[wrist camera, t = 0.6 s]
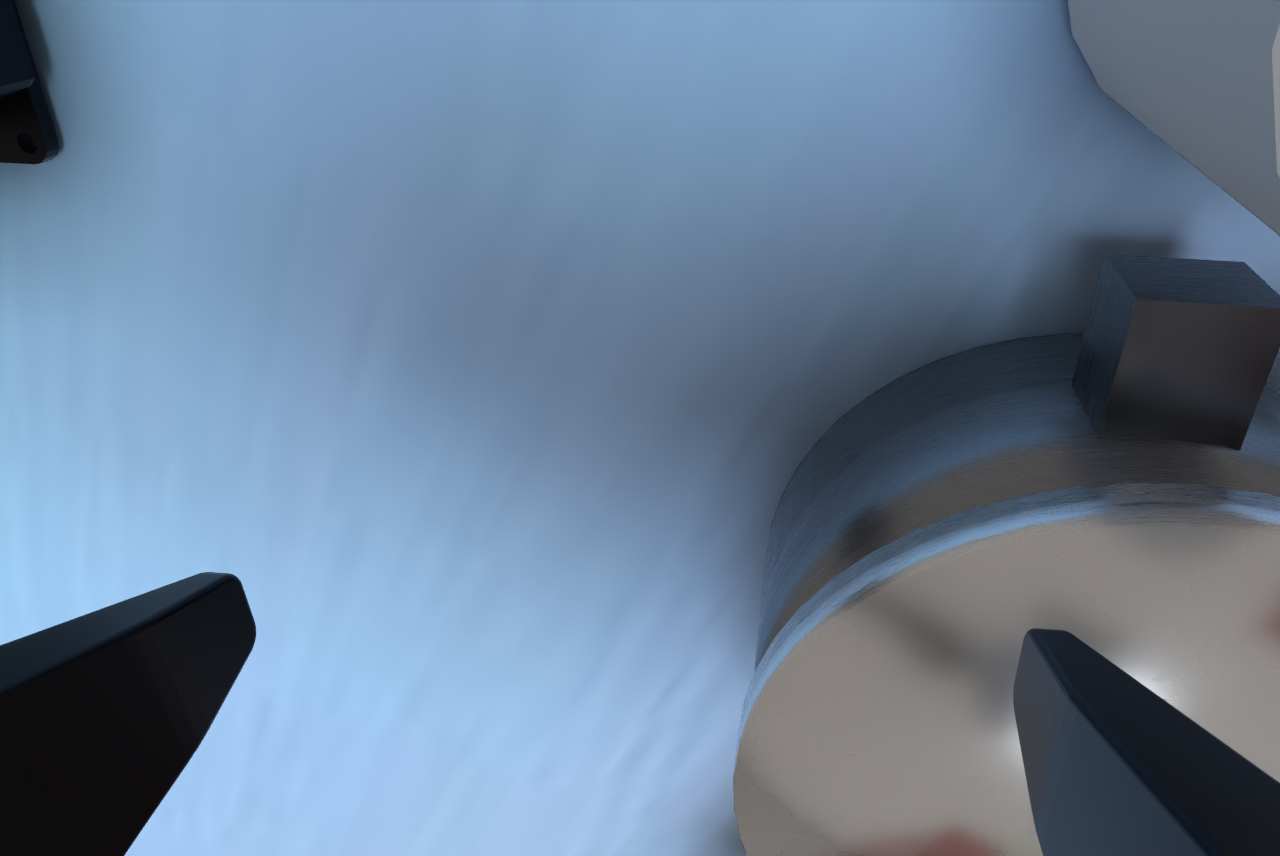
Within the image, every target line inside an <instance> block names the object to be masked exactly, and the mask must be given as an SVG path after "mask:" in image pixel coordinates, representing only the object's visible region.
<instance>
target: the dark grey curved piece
mask: <svg viewBox="0 0 1280 856" xmlns="http://www.w3.org/2000/svg"><path fill="white" fill-rule="evenodd" d="M1279 347H1280V296H1279V295H1278V294H1277V293H1276V292H1275V291H1274V290H1273V289H1272V288H1271V287H1270V286H1269V285H1268V284H1267V283H1266V282H1265V281H1263V280H1262V279H1261V278H1260V277H1259V276H1258V275H1257V274H1256V273H1255V272H1254V271H1253V270H1252V269H1251V268H1250V267H1249V266H1248V265H1247V264H1246V263H1244V262H1232V261H1214V260H1196V259H1179V258H1161V257H1144V256H1126V255H1109V254H1105V257H1104V260H1103V264H1102V268H1101V272H1100V276H1099V280H1098V283H1097V287H1096V291H1095V295H1094V299H1093V302H1092V306H1091V310H1090V314H1089V318H1088V322H1087V325H1086V329H1085V333H1084V334H1060V335H1050V336H1040V337H1030V338H1020V339H1015V340H1010V341H1005V342H1001V343H996V344H991V345H986V346H982V347H977V348H974V349H971V350H968V351H965V352H962V353H959V354H956V355H953V356H949V357H946V358H943V359H940V360H937V361H935V362H933V363H931V364H928V365H926V366H924V367H922V368H920V369H918V370H915V371H913V372H911V373H909V374H907V375H904V376H902V377H900V378H898V379H897V380H895V381H893V382H892V383H890V384H889V385H887V386H885V387H884V388H882V389H880V390H879V391H877V392H875V393H874V394H872V395H870V396H869V397H867V398H866V399H865V400H863V401H862V402H861V403H860V404H858V405H857V406H856V407H854V408H853V409H852V410H851V411H849V412H848V413H847V414H846V415H844V416H843V417H842V418H841V419H839V420H838V421H837V422H836V423H835V424H834V425H833V426H832V427H831V428H830V429H829V430H828V431H827V432H826V433H825V435H824V436H823V437H822V438H821V439H820V440H819V441H818V442H817V443H816V444H815V445H814V446H813V447H812V449H811V450H810V452H809V453H808V454H807V456H806V457H805V458H804V460H803V461H802V462H801V464H800V465H799V467H798V468H797V469H796V471H795V472H794V474H793V476H792V478H791V480H790V482H789V484H788V486H787V488H786V489H785V491H784V493H783V495H782V497H781V500H780V502H779V505H778V508H777V511H776V514H775V517H774V520H773V523H772V527H771V533H770V538H769V544H768V550H767V559H766V568H765V578H764V587H763V597H762V606H761V616H760V625H759V635H758V644H757V654H756V663H755V670H756V668H757V667H758V665H759V663H760V662H761V660H762V658H763V656H764V655H765V653H766V651H767V650H768V648H769V646H770V644H771V643H772V641H773V639H774V638H775V637H776V636H777V634H778V633H779V632H780V631H781V629H782V628H783V627H784V626H785V625H786V623H787V622H788V621H789V620H790V619H791V617H792V616H793V615H794V614H795V613H796V611H797V610H798V609H799V608H800V607H801V606H802V605H803V604H804V603H806V602H807V601H808V600H809V599H810V598H811V597H812V596H813V595H814V594H816V593H817V592H818V591H819V590H820V589H821V588H822V587H823V586H824V585H826V584H827V583H828V582H829V581H830V580H831V579H833V578H834V577H836V576H837V575H839V574H840V573H842V572H843V571H844V570H846V569H847V568H849V567H850V566H852V565H853V564H855V563H856V562H858V561H859V560H861V559H862V558H863V557H865V556H866V555H868V554H869V553H871V552H873V551H875V550H877V549H879V548H881V547H883V546H885V545H887V544H889V543H891V542H893V541H894V540H896V539H898V538H900V537H902V536H904V535H906V534H908V533H910V532H912V531H914V530H916V529H919V528H921V527H924V526H927V525H929V524H932V523H934V522H937V521H940V520H942V519H945V518H948V517H950V516H953V515H955V514H958V513H961V512H963V511H966V510H970V509H974V508H977V507H981V506H985V505H989V504H992V503H996V502H1000V501H1004V500H1007V499H1011V498H1015V497H1019V496H1023V495H1029V494H1036V493H1042V492H1048V491H1054V490H1060V489H1067V488H1073V487H1079V486H1092V485H1109V484H1126V483H1143V482H1145V483H1169V484H1194V485H1210V486H1217V487H1224V488H1231V489H1237V490H1244V491H1251V492H1258V493H1265V494H1270V495H1274V496H1278V497H1280V396H1279V395H1278V394H1277V393H1276V392H1274V391H1273V390H1272V389H1270V388H1269V387H1268V386H1267V385H1265V384H1266V381H1267V378H1268V376H1269V373H1270V371H1271V368H1272V365H1273V363H1274V360H1275V357H1276V355H1277V352H1278V350H1279Z"/></svg>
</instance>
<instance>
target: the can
mask: <svg viewBox="0 0 1280 856" xmlns="http://www.w3.org/2000/svg"><path fill="white" fill-rule="evenodd" d="M1068 8H1069V15H1070V23H1071V31H1072V35H1073V37H1074V39H1075V41H1076V43H1077V45H1078V47H1079V49H1080V51H1081V52H1082V54H1083V56H1084V58H1085V60H1086V62H1087V64H1088V66H1089V68H1090V69H1091V71H1092V73H1093V75H1094V77H1095V79H1096V81H1097V83H1098V85H1099V86H1100V88H1101V90H1103V91H1104V92H1105V93H1106V94H1107V95H1109V96H1110V97H1111V98H1112V99H1113V100H1114V101H1116V102H1117V103H1118V104H1119V105H1120V106H1122V107H1123V108H1124V109H1125V110H1126V111H1128V112H1129V113H1130V114H1131V115H1132V116H1133V117H1135V118H1136V119H1137V120H1138V121H1139V122H1141V123H1142V124H1143V125H1144V126H1145V127H1146V128H1148V129H1149V130H1150V131H1151V132H1153V133H1154V134H1155V135H1156V136H1158V137H1159V138H1160V139H1161V140H1162V141H1164V142H1165V143H1166V144H1167V145H1169V146H1170V147H1171V148H1172V149H1174V150H1175V151H1176V152H1177V153H1178V154H1180V155H1181V156H1182V157H1183V158H1185V159H1186V160H1187V161H1188V162H1189V163H1191V164H1192V165H1193V166H1194V167H1196V168H1197V169H1198V170H1199V171H1201V172H1202V173H1203V174H1204V175H1205V176H1207V177H1208V178H1209V179H1210V180H1212V181H1213V182H1214V183H1215V184H1217V185H1218V186H1219V187H1220V188H1221V189H1223V190H1224V191H1225V192H1226V193H1228V194H1229V195H1230V196H1231V197H1233V198H1234V199H1235V200H1236V201H1237V202H1239V203H1240V204H1241V205H1242V206H1244V207H1245V208H1246V209H1247V210H1249V211H1250V212H1251V213H1252V214H1253V215H1255V216H1256V217H1257V218H1258V219H1260V220H1261V221H1262V222H1263V223H1264V224H1266V225H1267V226H1268V227H1269V228H1271V229H1272V230H1273V231H1274V232H1276V233H1277V234H1278V235H1279V236H1280V0H1068Z"/></svg>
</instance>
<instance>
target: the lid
mask: <svg viewBox="0 0 1280 856" xmlns="http://www.w3.org/2000/svg"><path fill="white" fill-rule="evenodd" d="M1032 628H1039V629H1054V630H1065V631H1067V632H1070V633H1071V634H1073V635H1074V636H1076V637H1077V638H1079V639H1080V640H1081V641H1083V642H1084V643H1086V644H1087V645H1088V646H1090V647H1091V648H1093V649H1094V650H1095V651H1097V652H1098V653H1100V654H1101V655H1102V656H1104V657H1105V658H1107V659H1108V660H1109V661H1111V662H1112V663H1114V664H1115V665H1116V666H1118V667H1119V668H1120V669H1122V670H1123V671H1125V672H1126V673H1127V674H1129V675H1130V676H1132V677H1133V678H1134V679H1136V680H1137V681H1139V682H1140V683H1141V684H1143V685H1144V686H1146V687H1147V688H1148V689H1150V690H1151V691H1153V692H1154V693H1155V694H1157V695H1158V696H1160V697H1161V698H1162V699H1164V700H1165V701H1167V702H1168V703H1169V704H1171V705H1172V706H1174V707H1175V708H1176V709H1178V710H1179V711H1181V712H1182V713H1183V714H1185V715H1186V716H1187V717H1189V718H1190V719H1192V720H1193V721H1194V722H1196V723H1197V724H1199V725H1200V726H1201V727H1203V728H1204V729H1206V730H1207V731H1208V732H1210V733H1211V734H1213V735H1214V736H1215V737H1217V738H1218V739H1220V740H1221V741H1222V742H1224V743H1225V744H1227V745H1228V746H1229V747H1231V748H1232V749H1234V750H1235V751H1236V752H1238V753H1239V754H1241V755H1242V756H1243V757H1245V758H1246V759H1248V760H1249V761H1250V762H1252V763H1253V764H1254V765H1256V766H1257V767H1259V768H1260V769H1261V770H1263V771H1264V772H1266V773H1267V774H1268V775H1270V776H1271V777H1273V778H1274V779H1275V780H1277V781H1278V782H1280V497H1278V496H1274V495H1270V494H1265V493H1258V492H1251V491H1244V490H1237V489H1231V488H1224V487H1217V486H1210V485H1194V484H1169V483H1145V482H1143V483H1126V484H1109V485H1092V486H1079V487H1073V488H1067V489H1060V490H1054V491H1048V492H1042V493H1036V494H1029V495H1023V496H1019V497H1015V498H1011V499H1007V500H1004V501H1000V502H996V503H992V504H989V505H985V506H981V507H977V508H974V509H970V510H966V511H963V512H961V513H958V514H955V515H953V516H950V517H948V518H945V519H942V520H940V521H937V522H934V523H932V524H929V525H927V526H924V527H921V528H919V529H916V530H914V531H912V532H910V533H908V534H906V535H904V536H902V537H900V538H898V539H896V540H894V541H893V542H891V543H889V544H887V545H885V546H883V547H881V548H879V549H877V550H875V551H873V552H871V553H869V554H868V555H866V556H865V557H863V558H862V559H861V560H859V561H858V562H856V563H855V564H853V565H852V566H850V567H849V568H847V569H846V570H844V571H843V572H842V573H840V574H839V575H837V576H836V577H834V578H833V579H831V580H830V581H829V582H828V583H827V584H826V585H824V586H823V587H822V588H821V589H820V590H819V591H818V592H817V593H816V594H814V595H813V596H812V597H811V598H810V599H809V600H808V601H807V602H806V603H804V604H803V605H802V606H801V607H800V608H799V609H798V610H797V611H796V613H795V614H794V615H793V616H792V617H791V619H790V620H789V621H788V622H787V623H786V625H785V626H784V627H783V628H782V629H781V631H780V632H779V633H778V634H777V636H776V637H775V638H774V639H773V641H772V643H771V644H770V646H769V648H768V650H767V651H766V653H765V655H764V656H763V658H762V660H761V662H760V663H759V665H758V667H757V668H756V670H755V673H754V676H753V678H752V681H751V684H750V686H749V689H748V692H747V695H746V697H745V700H744V704H743V710H742V716H741V722H740V728H739V734H738V743H737V751H736V760H735V769H734V777H733V784H734V811H735V815H736V820H737V825H738V829H739V834H740V838H741V841H742V844H743V846H744V848H745V851H746V853H747V856H1043V853H1042V850H1041V847H1040V843H1039V840H1038V836H1037V833H1036V829H1035V824H1034V819H1033V814H1032V809H1031V804H1030V798H1029V793H1028V787H1027V781H1026V776H1025V770H1024V764H1023V759H1022V753H1021V747H1020V742H1019V736H1018V730H1017V725H1016V719H1015V713H1014V705H1013V689H1014V681H1015V677H1016V672H1017V667H1018V663H1019V658H1020V653H1021V648H1022V644H1023V639H1024V636H1025V634H1026V632H1027V631H1028V630H1030V629H1032Z"/></svg>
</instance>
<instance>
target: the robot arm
mask: <svg viewBox="0 0 1280 856" xmlns="http://www.w3.org/2000/svg"><path fill="white" fill-rule="evenodd" d="M30 135H31V136H32V137H33V138H34V139H35V141H36V143H37V147H36V146H35V145H33V143H32V141H31V140H30ZM58 149H59V145H58V139H57V136H56V133H55V130H54V126H53V123H52V120H51V117H50V114H49V110H48V107H47V104H46V101H45V98H44V94H43V91H42V88H41V85H40V82H39V78H38V75H37V72H36V69H35V66H34V62H33V59H32V56H31V53H30V50H29V47H28V43H27V40H26V37H25V34H24V31H23V27H22V24H21V21H20V18H19V15H18V11H17V8H16V5H15V2H14V0H0V162H2V163H22V164H38V163H42V162H45V161H48V160H50V159H53V158H54V157H55V156H56V155H57V153H58ZM255 638H256V626H255V621H254V619H253V616H252V613H251V610H250V607H249V604H248V601H247V598H246V595H245V592H244V589H243V586H242V583H241V581H240V580H239V579H238V578H237V577H236V576H235V575H233V574H228V573H213V572H205V573H199V574H197V575H194V576H191V577H188V578H186V579H183V580H180V581H177V582H174V583H172V584H169V585H166V586H163V587H161V588H158V589H155V590H152V591H150V592H147V593H144V594H141V595H139V596H136V597H133V598H130V599H128V600H125V601H122V602H119V603H116V604H114V605H111V606H108V607H105V608H103V609H100V610H97V611H94V612H92V613H89V614H86V615H83V616H81V617H78V618H75V619H72V620H69V621H67V622H64V623H61V624H58V625H56V626H53V627H50V628H47V629H45V630H42V631H39V632H36V633H34V634H31V635H28V636H25V637H23V638H20V639H17V640H14V641H11V642H9V643H6V644H3V645H0V856H124V855H125V854H126V852H127V851H128V849H129V848H130V846H131V845H132V843H133V842H134V841H135V839H136V838H137V836H138V835H139V833H140V832H141V830H142V829H143V827H144V826H145V825H146V823H147V822H148V820H149V819H150V817H151V816H152V814H153V813H154V812H155V810H156V809H157V807H158V806H159V804H160V803H161V801H162V800H163V798H164V797H165V796H166V794H167V793H168V791H169V790H170V788H171V787H172V785H173V784H174V782H175V781H176V780H177V778H178V777H179V775H180V774H181V772H182V771H183V769H184V768H185V766H186V765H187V764H188V762H189V761H190V759H191V758H192V756H193V754H194V753H195V751H196V750H197V748H198V747H199V745H200V743H201V742H202V740H203V738H204V737H205V735H206V733H207V731H208V730H209V728H210V726H211V724H212V723H213V721H214V719H215V717H216V715H217V713H218V711H219V710H220V708H221V706H222V704H223V702H224V700H225V699H226V697H227V695H228V693H229V691H230V689H231V688H232V686H233V684H234V682H235V680H236V678H237V677H238V675H239V673H240V671H241V669H242V667H243V666H244V664H245V662H246V660H247V658H248V656H249V654H250V653H251V651H252V648H253V646H254V643H255ZM1013 705H1014V713H1015V719H1016V725H1017V730H1018V736H1019V742H1020V747H1021V753H1022V759H1023V764H1024V770H1025V776H1026V781H1027V787H1028V793H1029V798H1030V804H1031V809H1032V814H1033V819H1034V824H1035V829H1036V833H1037V836H1038V840H1039V843H1040V847H1041V850H1042V853H1043V856H1280V782H1278V781H1277V780H1275V779H1274V778H1273V777H1271V776H1270V775H1268V774H1267V773H1266V772H1264V771H1263V770H1261V769H1260V768H1259V767H1257V766H1256V765H1254V764H1253V763H1252V762H1250V761H1249V760H1248V759H1246V758H1245V757H1243V756H1242V755H1241V754H1239V753H1238V752H1236V751H1235V750H1234V749H1232V748H1231V747H1229V746H1228V745H1227V744H1225V743H1224V742H1222V741H1221V740H1220V739H1218V738H1217V737H1215V736H1214V735H1213V734H1211V733H1210V732H1208V731H1207V730H1206V729H1204V728H1203V727H1201V726H1200V725H1199V724H1197V723H1196V722H1194V721H1193V720H1192V719H1190V718H1189V717H1187V716H1186V715H1185V714H1183V713H1182V712H1181V711H1179V710H1178V709H1176V708H1175V707H1174V706H1172V705H1171V704H1169V703H1168V702H1167V701H1165V700H1164V699H1162V698H1161V697H1160V696H1158V695H1157V694H1155V693H1154V692H1153V691H1151V690H1150V689H1148V688H1147V687H1146V686H1144V685H1143V684H1141V683H1140V682H1139V681H1137V680H1136V679H1134V678H1133V677H1132V676H1130V675H1129V674H1127V673H1126V672H1125V671H1123V670H1122V669H1120V668H1119V667H1118V666H1116V665H1115V664H1114V663H1112V662H1111V661H1109V660H1108V659H1107V658H1105V657H1104V656H1102V655H1101V654H1100V653H1098V652H1097V651H1095V650H1094V649H1093V648H1091V647H1090V646H1088V645H1087V644H1086V643H1084V642H1083V641H1081V640H1080V639H1079V638H1077V637H1076V636H1074V635H1073V634H1071V633H1070V632H1067V631H1065V630H1054V629H1039V628H1032V629H1030V630H1028V631H1027V632H1026V634H1025V636H1024V639H1023V644H1022V648H1021V653H1020V658H1019V663H1018V667H1017V672H1016V677H1015V681H1014V689H1013Z"/></svg>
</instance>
